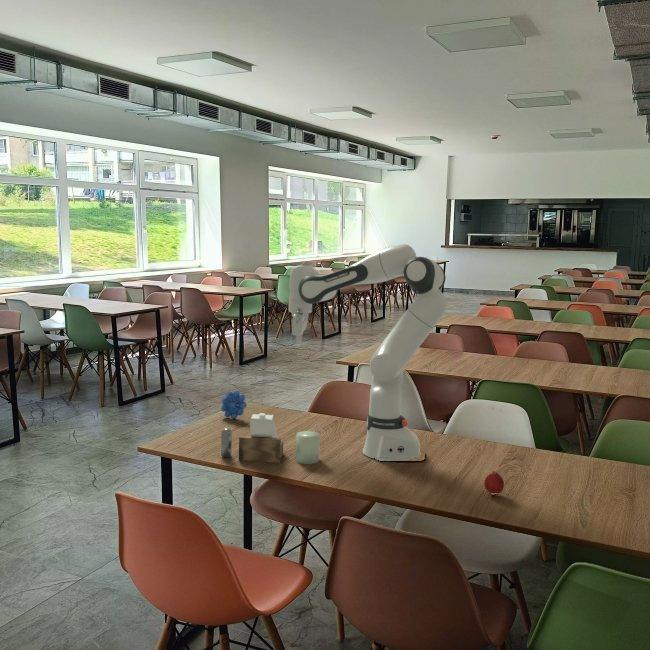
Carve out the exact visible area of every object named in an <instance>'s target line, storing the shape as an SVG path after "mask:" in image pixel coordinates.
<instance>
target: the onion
mask: <svg viewBox="0 0 650 650" xmlns="http://www.w3.org/2000/svg"><path fill="white" fill-rule="evenodd" d="M483 484H484V488H485V490H486V491H487V492H488V493H489V492H490V493H499V494H500V493H501V492H502V491H503V490H504V487H505V481H504V478H503V477H502V476H501V474H499V473H498V471H497V470H492V472H491V473H489V474H487V476H486V477H485V478H484V482H483ZM490 493H489V494H490Z"/></svg>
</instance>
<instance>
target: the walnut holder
mask: <svg viewBox="0 0 650 650" xmlns="http://www.w3.org/2000/svg"><path fill="white" fill-rule="evenodd" d="M238 437H239V438H238V461H245V460H247V461H248V462H263V463H265V462H267V463H278V462H280V463H281V460H282V458H283V455H284V442H285V440H284V439H282V438H281V437H276V438H266V437H251V436H247V435H240V436H238ZM247 461H246V462H247Z"/></svg>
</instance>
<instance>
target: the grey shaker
mask: <svg viewBox="0 0 650 650" xmlns="http://www.w3.org/2000/svg"><path fill="white" fill-rule="evenodd" d="M232 436H233V434H232V430H231V429H230V428H228V427H227V428H226V427H225V428H223V429H222V430H221V433H220V457H221V456H222V457H221V458H223V457H225V459H227V457H228V459H229V458H231V457H232V448H233V447H232V440H233V439H232V438H233V437H232Z"/></svg>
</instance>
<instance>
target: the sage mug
mask: <svg viewBox="0 0 650 650" xmlns="http://www.w3.org/2000/svg"><path fill="white" fill-rule="evenodd" d="M320 434H321V433H318V432H316V431H313V430H303V431H298V432H297V433H296V434H295V435H296V437H295V439H296V440H295V461H296V462H297V463H299V464H303V465H312V464H313V465H314V464H316V463H318V462H320V445H321V444H320V443H321V438H320V437H321V435H320Z"/></svg>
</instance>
